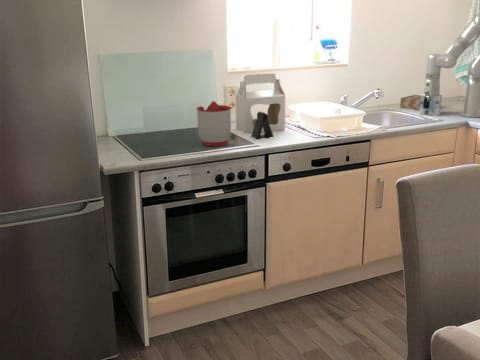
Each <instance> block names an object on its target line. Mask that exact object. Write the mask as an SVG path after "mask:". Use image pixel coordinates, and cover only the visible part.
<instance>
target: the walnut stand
mask: <svg viewBox="0 0 480 360" xmlns="http://www.w3.org/2000/svg"><path fill="white" fill-rule="evenodd" d="M421 98H422V95H419V94H412V95H408V96H403V97H400V104H399V108H400V109H406V110H412V109H413V110H414V111H419V110H420V108H421Z"/></svg>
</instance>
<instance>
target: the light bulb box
mask: <svg viewBox="0 0 480 360" xmlns="http://www.w3.org/2000/svg"><path fill="white" fill-rule="evenodd" d="M421 96H422V98H421V108H420V111H419V115H429V116H439V115H440V114H441V108H442V107H441V106H442V98H443V94H439V95H436V96H434V97H433V98H431V97H430V99H429V108H428V109H427V108H423V103H424V101H423V94H422V95H421ZM427 99H428V98H427Z"/></svg>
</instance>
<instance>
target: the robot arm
mask: <svg viewBox="0 0 480 360" xmlns="http://www.w3.org/2000/svg"><path fill="white" fill-rule="evenodd" d="M479 37H480V12H479V13H477V14H475V15H474V17H473V18H472V19H471V20H470V22H468V23H467V25H466V26H465V28H464V29H463V31H462V32H461V33H460V34H459V35H458V36H457V38H456V40H455V41H454V42H453V43H452V44H451V46H450V47H448V49H447V50H446V51H445V52H444V54H441V53H440V54H439V53H429V54H428V55H427V62H426V70H425V71H426V72H425V82H424V83H425V84H424V89H423V93H422V95H423V101H424V103H423V108H427V109H428V108H429V99H430V97H431V98H433V97H434V96H436V95H440V91H441V72H442V71H441V69H442V68H443V69H452V68H454V67H455V66H456V64H457V60H458V59H459V58H460V57H461V56H462V55H463V53H464V52H465V51H466V50H467V49H468V48H471V46H472V45H473V44H475V42H476V41H477V40H478V38H479ZM465 89H466V90H465V99H464V105H463V111H461V112H460V116H462V117H464V118H465V117H467V118H480V54H479V55H478V56H477V57H476V58H474V59H472V60H471V61H470V62H469V64H468V68H467V79H466V88H465ZM427 98H428V99H427Z"/></svg>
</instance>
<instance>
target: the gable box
mask: <svg viewBox="0 0 480 360" xmlns="http://www.w3.org/2000/svg"><path fill="white" fill-rule="evenodd" d="M243 79H244V80H243V81H240V84H239V88H238V90H237V92H236V93H235V129H236V128H237V130H238V129H239V131H240V130H241V131H240V132H242V131H243V132H242V133H243V134H245V133H248V134H252V133H253V129H254V126H255V123H256V120H257V118H254V117H253V115H252V112H251V109H252V107H253V106H255V105H265V106H267V105H268V109H267V111H266V112H267V113H266V114H267V115H268V122H269V125H270V128H271V131H272V132H275V130H277V131H284V130H283V129H285V130H286V95H285V93H284V90H283V88H282V86H281V80H280V79H277V78H276V73H261V74H260V73H258V74H255V73H254V74H246V75H245V76H244V77H243ZM267 83H268V84H274V87H273V88H274V89H271V90H258V91H247V90H246V89H247V85H254V84H255V85H258V84H259V85H260V84H267ZM261 133H264V129H263V127H262V131H261Z"/></svg>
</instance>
